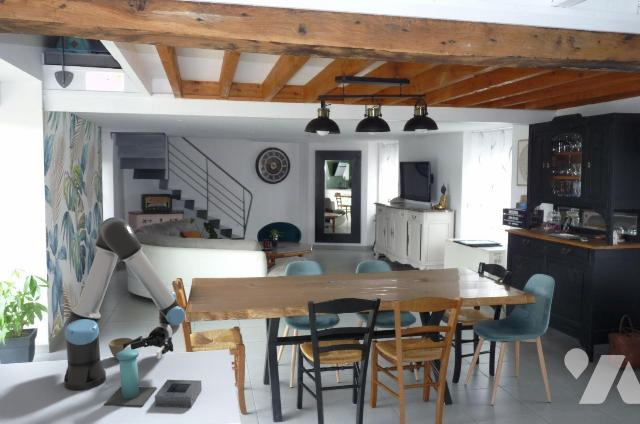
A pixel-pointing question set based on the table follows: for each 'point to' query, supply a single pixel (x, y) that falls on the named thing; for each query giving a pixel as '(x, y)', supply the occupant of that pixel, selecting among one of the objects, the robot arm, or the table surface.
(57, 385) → the table surface
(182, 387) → the housing
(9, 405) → the table surface
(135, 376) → the teal capped cylinder
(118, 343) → the flower pot
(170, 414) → the table surface
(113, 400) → the mat
